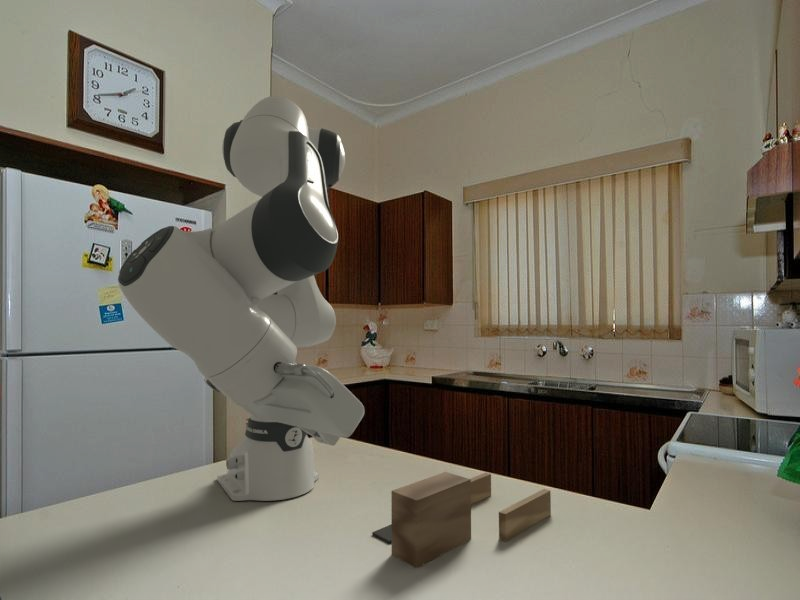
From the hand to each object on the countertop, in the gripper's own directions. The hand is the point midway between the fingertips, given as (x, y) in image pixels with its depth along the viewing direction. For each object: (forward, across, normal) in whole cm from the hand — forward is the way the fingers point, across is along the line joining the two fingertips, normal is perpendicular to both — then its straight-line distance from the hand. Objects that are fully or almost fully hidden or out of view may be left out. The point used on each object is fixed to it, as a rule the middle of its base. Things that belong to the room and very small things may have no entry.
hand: (330, 439), depth 55 cm
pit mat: (+25, +7, +1) cm, 26 cm away
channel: (+38, 0, -11) cm, 39 cm away
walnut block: (+26, 0, 0) cm, 26 cm away
